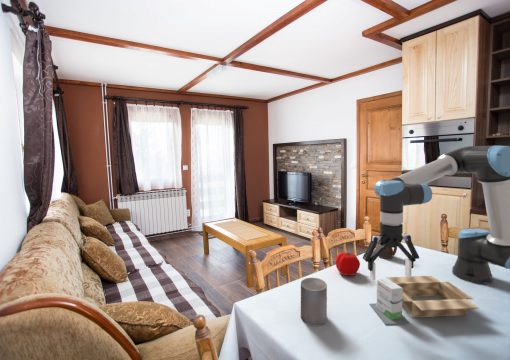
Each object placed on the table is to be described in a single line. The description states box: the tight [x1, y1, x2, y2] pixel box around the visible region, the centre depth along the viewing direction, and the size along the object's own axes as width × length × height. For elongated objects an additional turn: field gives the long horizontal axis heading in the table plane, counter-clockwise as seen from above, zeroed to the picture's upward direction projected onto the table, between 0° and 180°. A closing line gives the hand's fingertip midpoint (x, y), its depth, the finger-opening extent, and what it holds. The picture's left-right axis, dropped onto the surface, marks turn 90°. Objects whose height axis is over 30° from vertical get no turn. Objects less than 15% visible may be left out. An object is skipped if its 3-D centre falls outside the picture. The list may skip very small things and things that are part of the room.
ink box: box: [376, 277, 403, 320], centre depth 103 cm, size 9×5×12 cm, turn 14°
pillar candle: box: [300, 277, 328, 327], centre depth 101 cm, size 10×10×15 cm
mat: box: [368, 302, 411, 326], centre depth 104 cm, size 9×13×1 cm
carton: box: [385, 275, 480, 318], centre depth 108 cm, size 27×25×6 cm
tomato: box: [335, 251, 361, 276], centre depth 137 cm, size 12×12×11 cm
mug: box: [377, 234, 398, 260], centre depth 156 cm, size 9×12×12 cm
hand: (390, 277), depth 102 cm, fingers open, 13 cm apart
